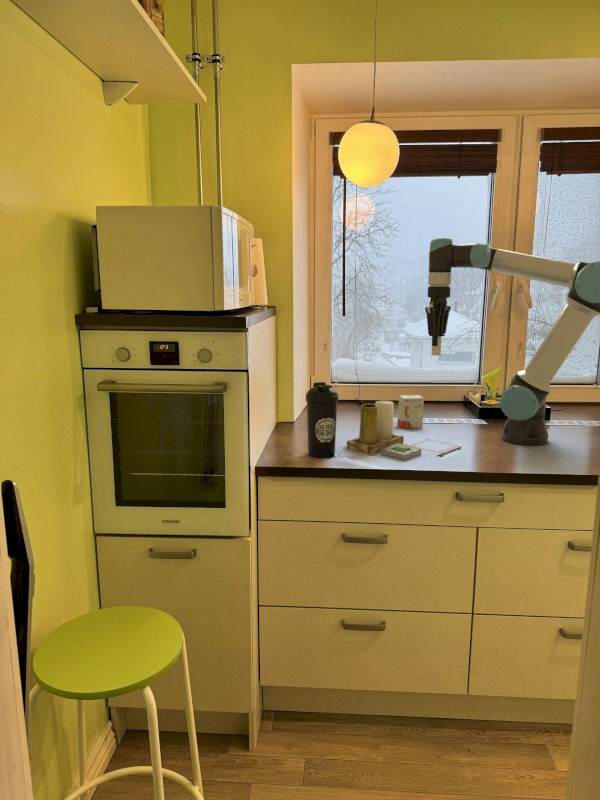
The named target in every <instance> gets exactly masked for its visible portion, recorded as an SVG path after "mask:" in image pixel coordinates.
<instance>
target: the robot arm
mask: <svg viewBox="0 0 600 800" xmlns="http://www.w3.org/2000/svg"><path fill="white" fill-rule="evenodd" d="M428 256H429V257H428V276H427V278H428V281H427V284H428V285H429V286H428V287H427V298H430V301H429V305H428V306H425V309H424V310H425V313H426V324H427V334H428V335H429V337H431V354H430V355H431V356H436V357H437V356H441V355H442V353H441V352H442V338H443V337H445V336H446V335H445V334H446V332H447V327H448V321H449V317H450V316H449V315H450V312H451V309H452V307H451V305H448V301H447V299H448V298H450V297H451V291H452V290H451V286H450V285H451V284H452V270H453V268H454V269H455V268H460V269H461V268H466V269H467V268H470V269H471V268H472V269H480V270H483V271H484V270H485V271H489V272H496V273H499V274H504V275H509V276H512V277H518V278H521V279H528V280H532V281H536V282H542V283H545V284H550V285H555V286H559V287H564V288H568V289H569V290H568V293H567V294H566V296H565V298H566V299H565V300H566V305H565V307H564V308H563V310H562V311H561V313H560V314H559V316H558V318H557V319H556V321H555V322H554V324H553V325H552V326H551V328H550V330H549V332H548V333H547V335H546V336H545V338H544V339H543V340H542V343H541V344H540V346H539V347H538V349H537V350H536V352H535V353H534V355H533V357H532V358H531V359H530V361H529V363H528V364H527V366H526V367H525V368H524V369H523V370H518V371H517V372H516V373H514V374H513V375H512V376H511V380H510V383H509V385H508V386H507V387H506V388H505V389H504V390H503V392H502V393H501V395H500V399H499V406H500V409H501V411H502V413H504V415H505V416H506V417H508V418H507V420H506V422H505V425H504V426H503V429H502V432H501V438H502V439H503V440H504V441H506V442H507V443H508V442H509V443H511V444H517V445H521V446H522V445H525V446H542V445H545V444H547V443H549V432H548V429H547V425H546V424H547V423H546V421H545V416H546V407H547V406H546V405H547V397H548V395H549V394H550V392H551V390H552V389H551V385H550V383H551V381H552V380H553V379H554V378H555V376H556V374H557V373H558V371H559V370H560V368H561V367H562V365H563V364H564V363H565V361H566V360H567V358H568V357H569V355H570V353H571V352H572V351H573V349H574V347H575V346H576V344H577V343H578V342H579V340H580V338H582V336H583V334H584V332H585V331H586V330H587V328H588V326H589V325H590V323H591V322H592V320H594V318H595V317H599V316H600V260H599V261H593V262H585V261H579V262H577V263H571V262H567V261H562V260H556V259H552V258H547V257H541V256H536V255H532V254H531V255H530V254H525V253H521V252H516V251H510V250H505V249H499V248H495V247H490V245H489V244H488V243H481V242H479V243H478V242H477V243H465V244H463V243H462V244H460V243H459V244H458V243H457V244H455V243H454V240H453V239H452V238H451V237H448V238H447V237H444V238H442V237H441V238H437V237H436V238H433V239H431V240H430V244H429V252H428Z"/></svg>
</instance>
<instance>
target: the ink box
mask: <svg viewBox="0 0 600 800" xmlns="http://www.w3.org/2000/svg"><path fill="white" fill-rule="evenodd" d="M424 400H425V398H424V397H423V396H421V395H420V394H415V395H414V394H413V395H412V394H410V395H409V394H407V395H405V394H404V395H399V396H398V407H397V408H398V409H397V426H398V427H399V428H400V429H422V428H423V424H424V403H425V402H424Z"/></svg>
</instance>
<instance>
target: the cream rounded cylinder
mask: <svg viewBox="0 0 600 800" xmlns="http://www.w3.org/2000/svg"><path fill="white" fill-rule="evenodd" d="M374 405H377V439H381V440H389V439H393V434H394V411H395V410H394V408H395V407H394V405H395V403H394V402H393V401H392V400H391V401H390V400H377V401H375V404H374Z"/></svg>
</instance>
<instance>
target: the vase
mask: <svg viewBox="0 0 600 800" xmlns="http://www.w3.org/2000/svg"><path fill="white" fill-rule="evenodd" d="M358 438H359V443H361V444H365V445H369V446H370V445H373V444H377V405H375V404H374V403H366V404H365V403H363V404H361V405H360V418H359V435H358Z"/></svg>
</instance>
